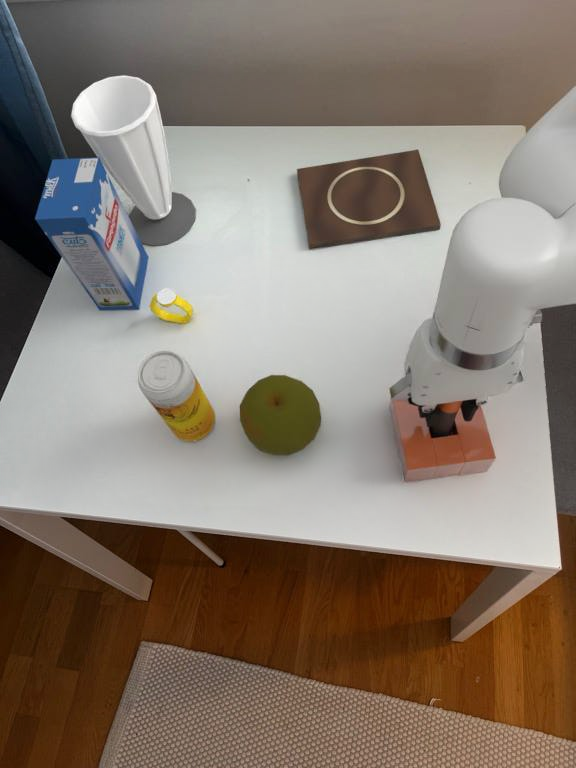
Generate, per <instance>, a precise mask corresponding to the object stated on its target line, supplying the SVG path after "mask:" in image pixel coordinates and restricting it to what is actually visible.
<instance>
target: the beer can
mask: <svg viewBox="0 0 576 768" xmlns="http://www.w3.org/2000/svg"><path fill="white" fill-rule="evenodd" d="M137 384H138V388H139V390H140V391H141V393H142V394H143V396H144V397H145V398H146V400H147V401H148V402H149V403H150V404H151V406H152V407H153V408H154V410H155V411H156V412H157V414H158V416H159V417H160V418H161V419H162V420H163V422H164V423H165V424H166V426H167V427H168V428H169V429H170V431H171V432H172V434H173V435H174V436H175V437H176V438H177V439H179V440H181V441H183V442H190V443H191V442H198V441H200V440H202V439H204V438H205V437H207V436H208V435H209V434H210V433H211V431H213V428H214V427H215V424H216V423H215V422H216V414H215V411H214V408H213V407H212V405H211V403H210V401H209V399H208V397H207V395H206V393H205V391H204V390H203V388H202V386H201V384H200V382H199V380H198V379H197V377H196V374H195V373H194V371H193V369H192V368H191V365H190V364H189V362H188V361H187V359H186V358H185V357H184V356H182V355H181V354H179V353H177V352H174V351H171V350H159V351H156V352H153V353H151V354H150V355H148V356H147V357H146V358H144V360H143V361H142V362H141V364H140V366H139V368H138V373H137Z"/></svg>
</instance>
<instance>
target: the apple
mask: <svg viewBox="0 0 576 768" xmlns="http://www.w3.org/2000/svg"><path fill="white" fill-rule="evenodd" d="M238 407H239V422H240V424H241V427H242V429H243V433H244V435H245V437H246V438H247V441H249V442H250V443H251V444H252V445H253V447H255V448H256V449H257V450H258V451H260V452H263V453H266V454H269V455H272V456H291V455H292V454H295V453H298V452H300V451H303V450H304V449H305V448H306V447H308V446H309V445H310V444H311V443H313V441H315V439H316V437H317V435H318V432H319V430H320V428H321V424H322V415H321V405H320V402H319V400H318V398H317V395H316V393H315V392H314V390H313V389H312V388H311V387H309V385H308V384H306V383H305V382H304V381H302V380H300V379H297V378H294V377H291V376H288V375H285V374H270V375H268V376H266V377H263V378H261V379H258V380H257V381H256V382H255V383H254V384H253V385H251V386H250V387H249V388H248V389H247V391H246V392H245V394H244V396H243V398H242V400H241V402H240V404H239V406H238Z"/></svg>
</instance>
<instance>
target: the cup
mask: <svg viewBox="0 0 576 768" xmlns="http://www.w3.org/2000/svg"><path fill="white" fill-rule="evenodd" d="M70 113H71V114H70V117H71V119H72V122H73V124H74V126H75V128H76V129H77V130H78V131H80V132H81V135H82V136H83V138H84V139H85V141H86V142H87V145H89V147H90V148H91V150H92V151H93V153H94V154H95V155H96V156H95V157H99V158H100V160H101V162H102V164H103V166H104V168H105V170H106V171H107V173H109V175H110V176H111V177H112V179H113V180H114V181H115V183H116V184H117V185H118V186H119V188H120V189H121V190H122V191H123V192H124V194H125V195H126V196H127V197H128V199H130V201H131V202H132V203H133V205H134V206H133V208H132V210H131V211H130V212H129V215H128V217H129V219H130V221H131V223H132V225H133V227H134V229H135V231H136V233H137V235H138V237H139V239H140V241H141V243H142V245H147V246H150V247H151V246H152V247H159V246H167V245H170V244H171V243H174V242H176V241H179V240H180V239H181V238H183V237H184V236H185V235H187V233H189V232H190V230H191V229H192V227H193V225H194V223H195V222H196V214H197V213H196V212H197V209H196V207H195V205H194V203H193V201H192V200H191V198H188V197H187V196H186V195H184V194H183V193H179V192H174V191H173V190H172V179H171V177H172V175H171V168H170V160H169V152H168V146H167V141H166V133H165V130H164V125H163V120H162V115H161V111H160V107H159V103H158V98H157V94H156V92H155V91H154V88H153V87H152V85H151V84H150V83H148V82H146V81H145V80H143V79H141V77H136V76H130V75H116V76H115V75H114V76H108V77H105V78H103V79H101V80H98V81H95V82H93V83H92V84H90V85H89V86H87V87H86V88H85V89H84V90H82V91H81V92H80V93H79V94H78V96H77V97H76V99H75V100H74V102H73V104H72V108H71V112H70Z"/></svg>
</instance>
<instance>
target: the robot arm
mask: <svg viewBox="0 0 576 768" xmlns="http://www.w3.org/2000/svg"><path fill="white" fill-rule="evenodd" d="M498 190H499V194H500V196H501V197H497V198H492V199H488V200H485V201H483V202H480V203H478V204H476V205H474V206H473V207H471V208H470V209H468V210H466V212H465V213H464V214H463V215H462V216H461V217H460V219H459V220H458V222H457V223H456V224H455V226H454V228H453V230H452V233H451V236H450V240H449V244H448V248H447V253H446V257H445V261H444V266H443V269H442V274H441V279H440V283H439V288H438V292H437V297H436V301H435V306H434V309H433V310H434V311H433V313H432V317H431V318H427V319H425V320H424V321H423V322H422V323H421V325H420V326H419V328H418V329H417V330H416V332H415V333H414V335H413V338H412V339H411V342H410V344H409V346H408V350H407V353H406V356H405V359H404V363H403V370H404V376H403V377H401V378H400V379H398V381H397V382H395V383H394V384H393V385H392V386H390V387H389V395H390V396H391V400H393V401H402V402H405V401H408V402H409V404H411V405H415V406H418V411H419V415H420V418H425V419H426V424H427V427H429V428H430V427H432V426H433V425H434V423H435V420H436V417H437V414H438V411H437V404H443V403H450V402H457V401H463V402H462V404H461V406H460V407H461V411H462V415H463V418H464V421H466V422H468V421H471V420H472V418H473V416H474V414H475V412H476V410H478V408H479V406H480V405H481V406H483V405H485V404H487V403H488V401H489V398H490V397H495V396H501V395H503V394H505V393H507V392H508V391H509V390H510V389H511V388H512V387H513V386H514V385H517V384H520V383H522V382H524V379H525V378H524V375H523V373H522V371H521V370H522V369H521V368H522V366H523V361H524V357H525V348H526V332H527V330H528V329H529V328H530V327H531V326H533V325H535V324H540V323H542V320H543V313H542V310H543V309H549V308H554V307H560V306H561V307H562V306H568V305H569V306H570V305H576V85H575V86H573V87H572V88H571V89H570V90H569V91H568V92H567V93H566V94H565V95H564V96H563V97H562V98H561V99H559V100H558V101H557V103H555V104H554V105H553V106H552V107H551V108H550V109H549V110H548V111H547V112H546V113H545V114H544V115H542V116H541V118H540V119H538V121H536V123H534V124H533V125H532V127H531V128H530V129H528V131H526V132H525V134H524V135H523V136H522V137H521V139H520V140H518V142H517V143H516V144H515V146H514V147H513V148H512V150H511V151H510V153H509V154H508V155H507V156H506V159H505V161H504V163H503V165H502V167H501V170H500V173H499V179H498ZM390 396H389V397H390Z"/></svg>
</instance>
